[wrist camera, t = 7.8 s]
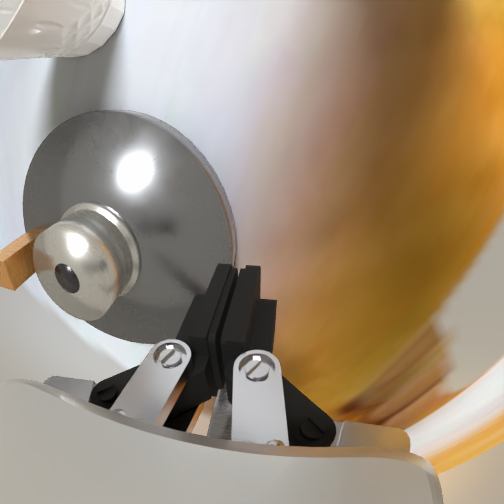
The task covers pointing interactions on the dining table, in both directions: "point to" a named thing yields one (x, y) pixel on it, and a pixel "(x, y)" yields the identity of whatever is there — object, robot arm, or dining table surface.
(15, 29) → the white cup
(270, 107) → the dining table surface
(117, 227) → the cover
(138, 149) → the turntable
